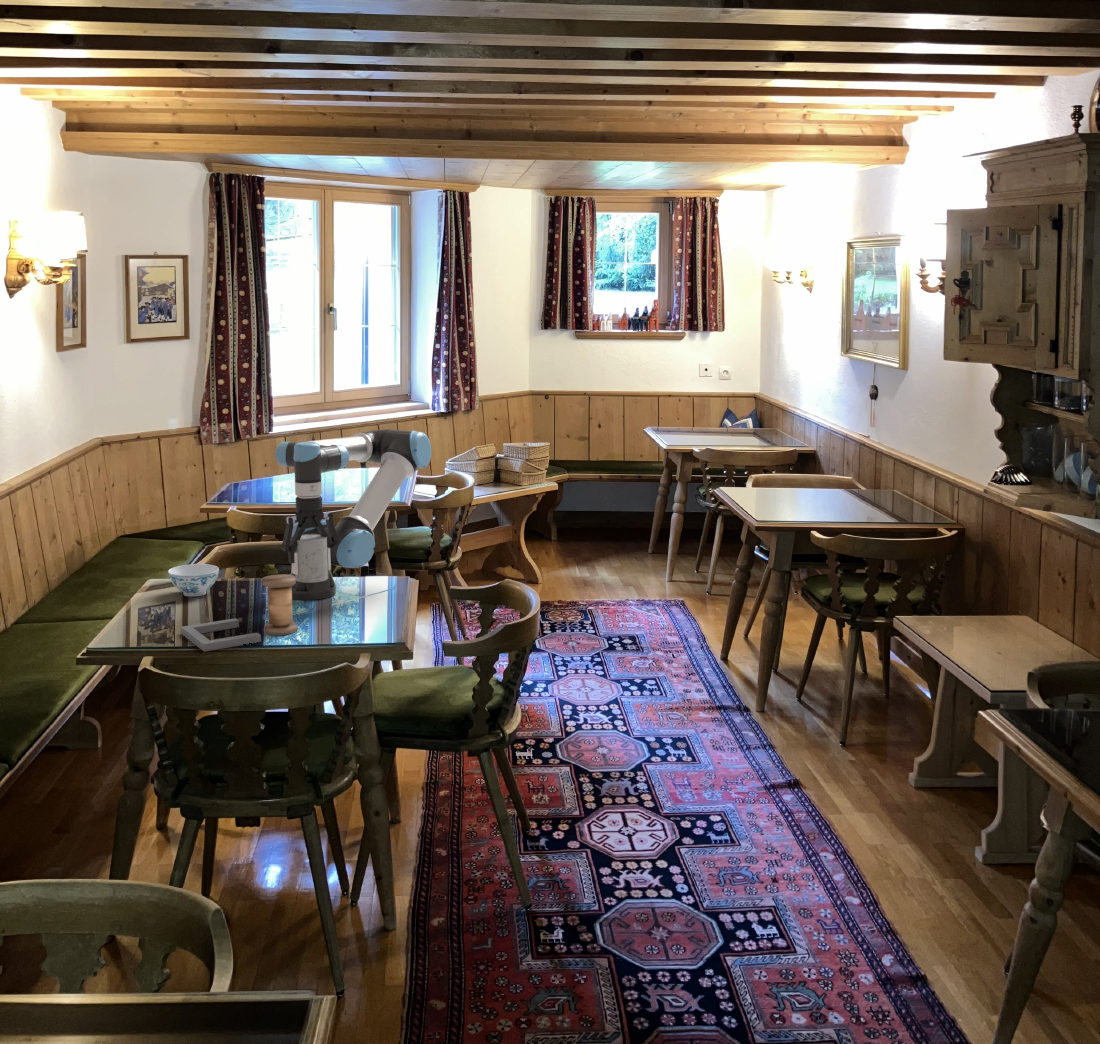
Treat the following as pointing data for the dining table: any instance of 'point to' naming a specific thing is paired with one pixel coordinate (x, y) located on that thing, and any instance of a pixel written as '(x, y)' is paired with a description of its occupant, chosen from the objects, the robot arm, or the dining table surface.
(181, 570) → the chinaware
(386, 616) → the dining table surface
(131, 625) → the dining table surface
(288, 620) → the bobbin
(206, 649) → the c-shaped bracket
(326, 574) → the white scuffed cylinder
